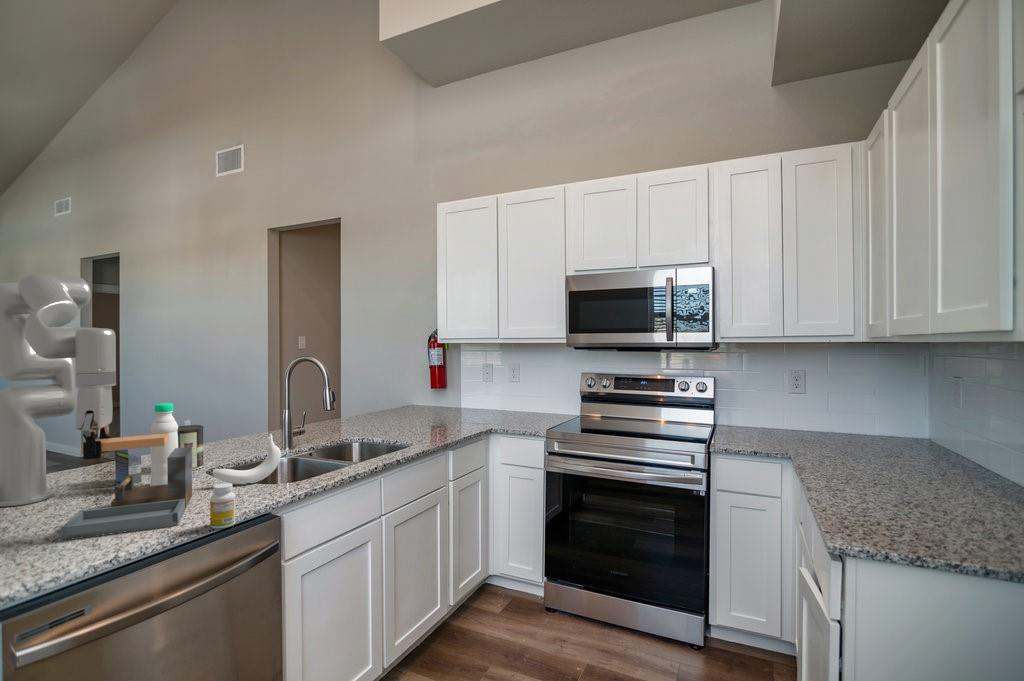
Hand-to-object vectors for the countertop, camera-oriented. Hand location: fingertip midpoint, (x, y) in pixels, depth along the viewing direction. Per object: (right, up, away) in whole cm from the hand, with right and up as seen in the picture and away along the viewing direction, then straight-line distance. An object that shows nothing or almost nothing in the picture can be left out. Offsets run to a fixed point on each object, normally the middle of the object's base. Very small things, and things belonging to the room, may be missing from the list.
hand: (96, 454), depth 122 cm
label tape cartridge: (-21, -17, +38) cm, 47 cm away
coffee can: (-13, -17, +54) cm, 58 cm away
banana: (+17, -17, +37) cm, 44 cm away
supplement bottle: (+29, -18, +3) cm, 34 cm away
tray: (+5, -18, +3) cm, 19 cm away
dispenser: (+3, -17, +16) cm, 24 cm away
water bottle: (-7, -17, +34) cm, 39 cm away
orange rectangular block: (+6, +1, +3) cm, 6 cm away
